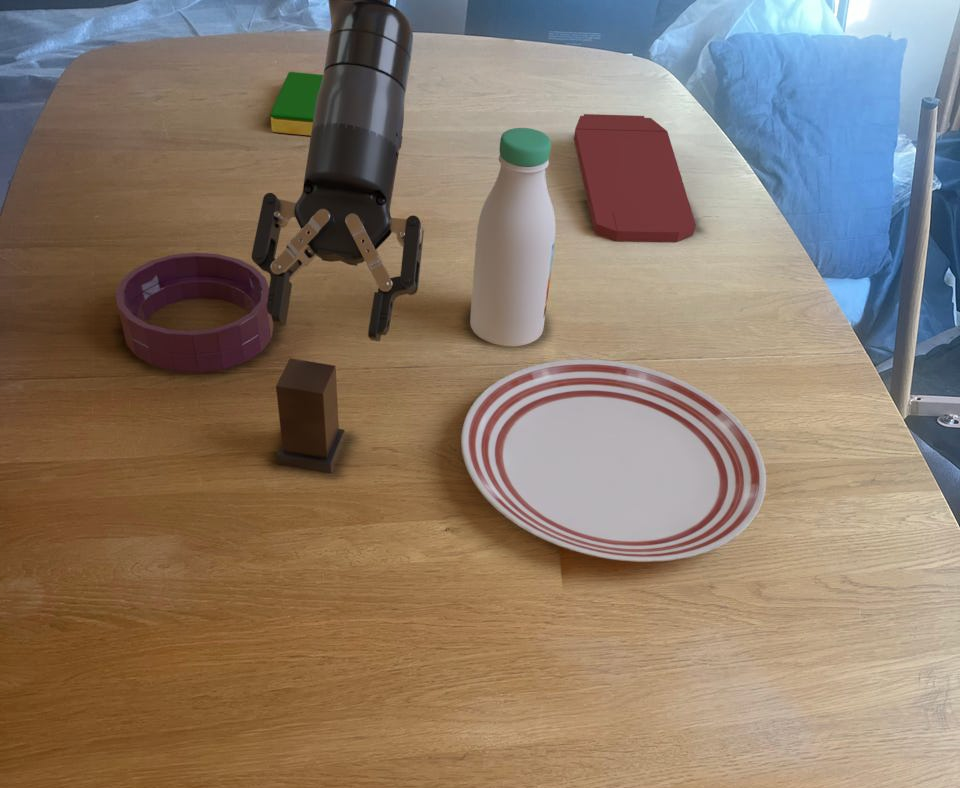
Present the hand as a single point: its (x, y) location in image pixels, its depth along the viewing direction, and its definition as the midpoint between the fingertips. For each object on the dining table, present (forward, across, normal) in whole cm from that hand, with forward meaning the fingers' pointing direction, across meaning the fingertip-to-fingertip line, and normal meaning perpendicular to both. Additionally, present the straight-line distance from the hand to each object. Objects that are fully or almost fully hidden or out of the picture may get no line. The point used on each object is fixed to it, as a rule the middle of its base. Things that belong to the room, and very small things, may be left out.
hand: (326, 331), depth 86 cm
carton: (-31, +24, +45) cm, 60 cm away
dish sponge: (-37, -20, +51) cm, 66 cm away
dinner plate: (+8, +26, +6) cm, 28 cm away
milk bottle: (-6, +14, +20) cm, 25 cm away
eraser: (+11, 0, +2) cm, 11 cm away
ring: (0, -16, +13) cm, 21 cm away
